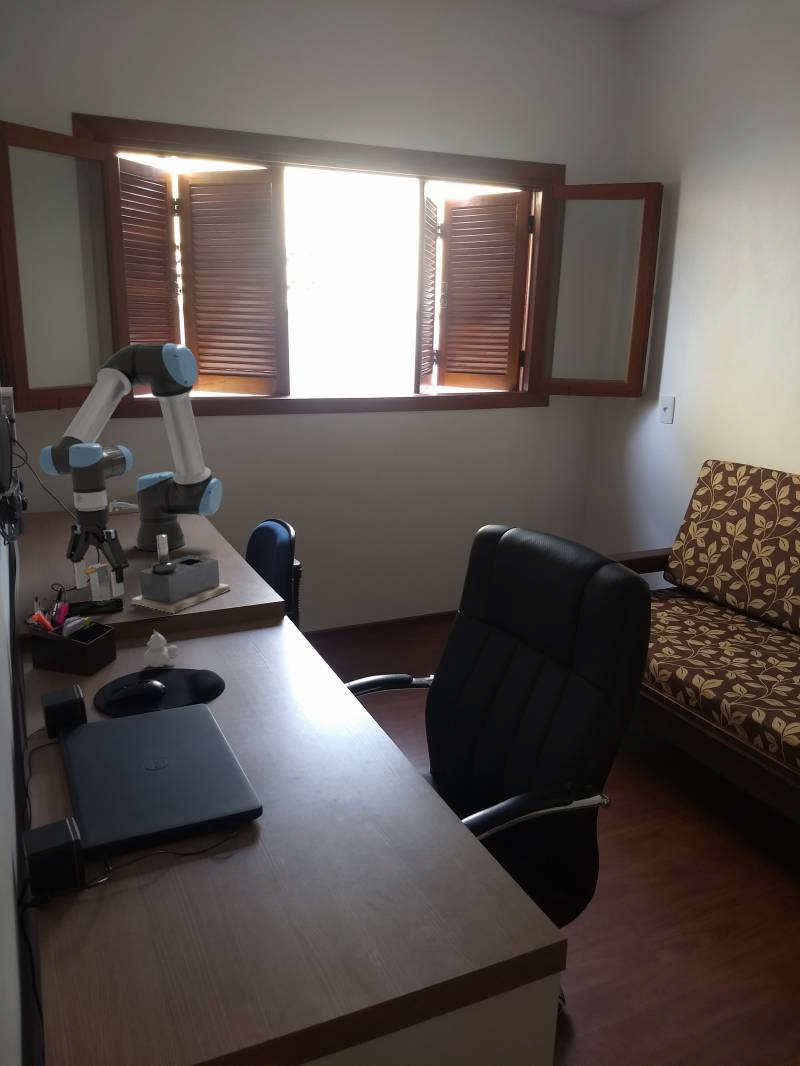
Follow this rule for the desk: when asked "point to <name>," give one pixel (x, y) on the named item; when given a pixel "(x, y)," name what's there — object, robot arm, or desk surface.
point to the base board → (182, 603)
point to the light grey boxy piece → (99, 581)
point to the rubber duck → (159, 651)
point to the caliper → (121, 506)
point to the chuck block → (177, 576)
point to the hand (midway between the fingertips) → (100, 591)
